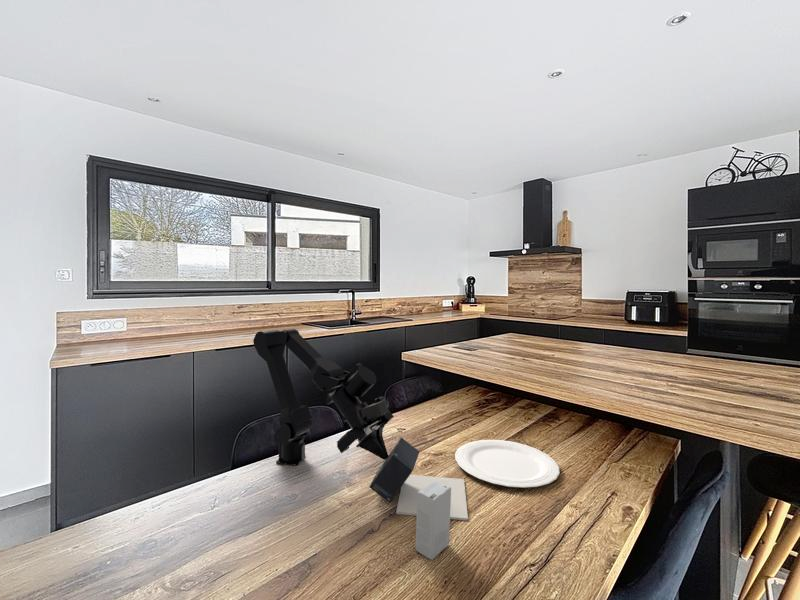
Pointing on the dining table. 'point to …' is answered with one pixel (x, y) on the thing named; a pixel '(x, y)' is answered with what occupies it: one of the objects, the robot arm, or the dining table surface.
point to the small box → (395, 470)
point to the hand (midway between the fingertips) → (386, 458)
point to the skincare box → (433, 519)
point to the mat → (416, 483)
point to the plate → (507, 463)
